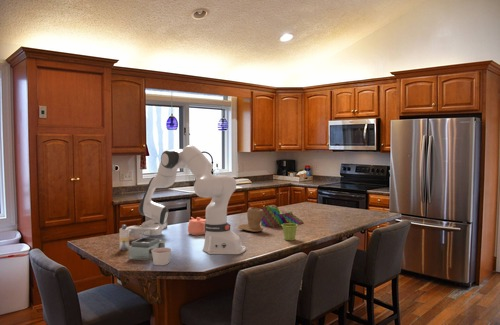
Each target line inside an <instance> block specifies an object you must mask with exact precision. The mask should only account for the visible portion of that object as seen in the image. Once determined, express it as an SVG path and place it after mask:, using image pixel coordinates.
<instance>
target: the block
mask: <svg viewBox="0 0 500 325" xmlns="http://www.w3.org/2000/svg"><path fill="white" fill-rule="evenodd" d="M261 209H262V210H263V217H262V220H261V222H260V226H264V227H269V228H273V229H274V228H279V227H282V224H287V223H293V224H297V225H303V224H304V221H303V220H301V219H300V218H299V217H298V216H296V215H295V214H293V211H290V210H289V211H288V210H287V211H286V210H280V209H279V207H278V206H277V205H275V204H271V205H264V206H263V207H262V208H261Z"/></svg>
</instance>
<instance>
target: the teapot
mask: <svg viewBox="0 0 500 325" xmlns="http://www.w3.org/2000/svg"><path fill="white" fill-rule="evenodd" d="M190 218H191V219H189V220H188V226H187V232H188V234H190V235H192V236H197V237H198V236H200V235H204V236H205V223H206V218H201V217H198V216H197V217H196V218H194V217H192V216H190Z"/></svg>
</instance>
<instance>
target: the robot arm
mask: <svg viewBox="0 0 500 325" xmlns="http://www.w3.org/2000/svg"><path fill="white" fill-rule="evenodd" d="M178 169H179V170H180V169H189V171H190V172H191V174H192V175H193V177H195V178H194V179H195V181H194V183H193V190H194V193H195V195H197V196H198V197H199V198H205V199H206V198H207V199H209V198H210V199H211V200H210V203H209V204H207V206H206V207H205V219H206V223H205V234H204V237H205V238H204V242H203V243H204V244H203V247H202V251H203V252H205V253H206V254H209V255H240V254H243V253H244V252H245V251H247V247H246V246H245V245H242V240H241V237H240V236H239V235H238V234H237V233H235V232H234V231H232V230H231V226H232V224H231V223H229V222H228V218H227V217H228V216H227V215H228V205H229V203H230V202H229V201H230V199H231V197H232V195H233V193H234V192H236V189H237V180H236V179H235V177H233V176H231V175H228V174H219V175H215V174H213V173H212V172H213V165H212V163H211V161H210V160H209V159H208V158H207V157H206V155H205V154H203V152H202V151H201V150H200V149H198V148H197V147H196V146H195V145H193V144H192V145H191V144H190V145H186V146H185V147H183V148H175V149H166V150H164V151H162V153H161V155H160V162H159V166H158V169H157V174H156V175H155V176H153V177H151V179H150V181H149V182H148V185H147V187H146V189H145V192H144V194H143V197H142V199H141V201H140V203H139V205H138V207H137V208H138V212H139V214H140V216H144V217H148V218H150V219H149V220H146V221H144V222H142V223H141V225H130V226H126V228H129V235H139V236H140V235H141V236H145V237H151V236H159V235H160V236H161V235H162V231H163V230H164V229H165V228H164V227H165V225H166V221H167V222H168V219H169V216H170V212H169V209H168V207H167V206H165V205H163V204H160V203H157V202H154V201H153V200H152V197H153V195H154V193H155V191H156V189H166V188H169V187H171V186H173V185H174V183H175V182H176V178H177V174H178Z"/></svg>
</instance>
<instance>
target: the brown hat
mask: <svg viewBox="0 0 500 325" xmlns="http://www.w3.org/2000/svg"><path fill="white" fill-rule="evenodd" d="M262 209H263V208H258V207H248V209H247V212H246V213H247V215H246V216H247V224H240V225H238V227H237V228H238V229H240V230H244V231H247V232H255V233H257V232H261V231H263V230H264V229H263V228H262V227H261V220H262V217H263V210H262Z"/></svg>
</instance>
